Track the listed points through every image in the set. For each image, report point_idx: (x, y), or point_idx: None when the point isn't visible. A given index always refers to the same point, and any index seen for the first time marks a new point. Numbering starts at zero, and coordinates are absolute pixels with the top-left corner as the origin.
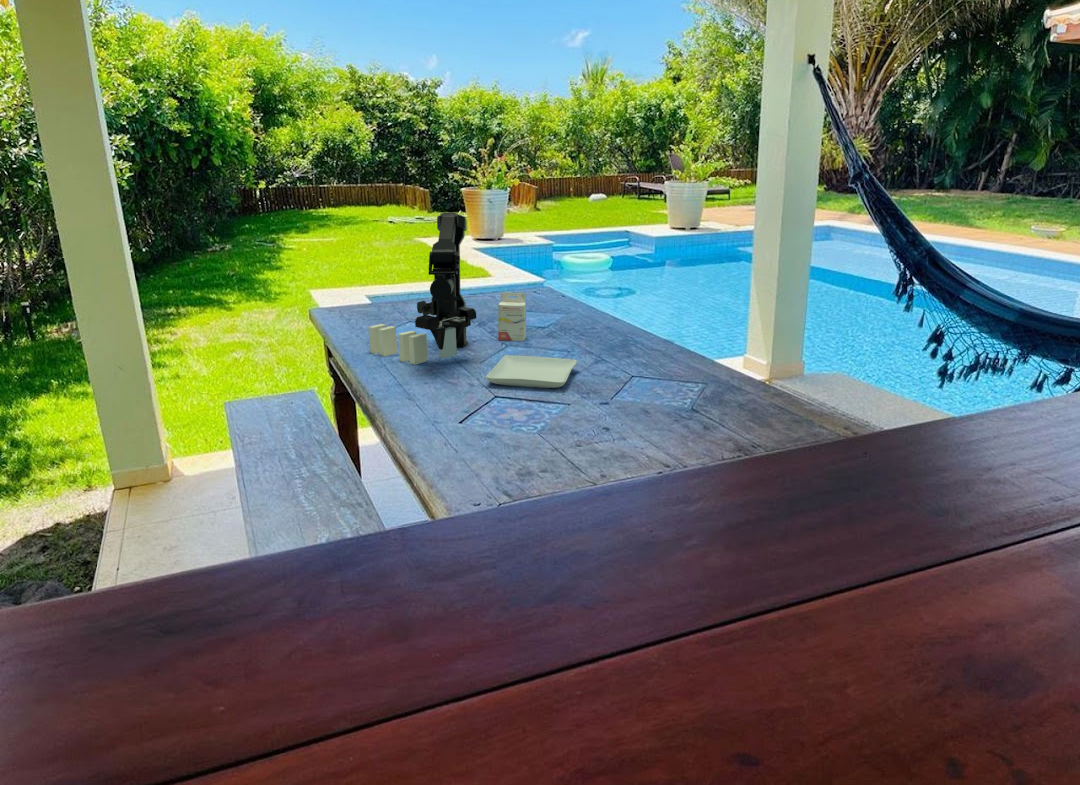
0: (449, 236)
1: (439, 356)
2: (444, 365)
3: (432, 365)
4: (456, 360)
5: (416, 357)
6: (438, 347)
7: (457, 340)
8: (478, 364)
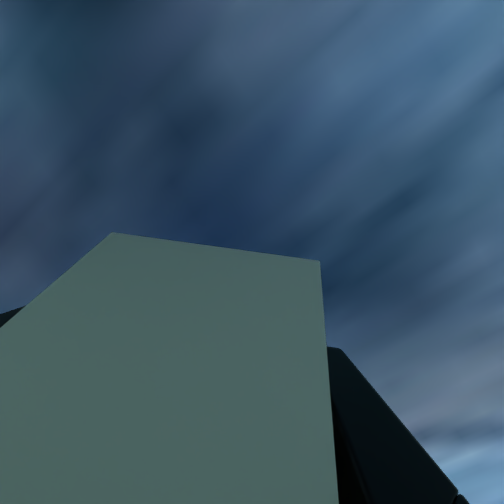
0: None
1: (107, 242)
2: (176, 240)
3: (102, 142)
4: (379, 233)
5: None
6: (13, 314)
7: None
8: None
